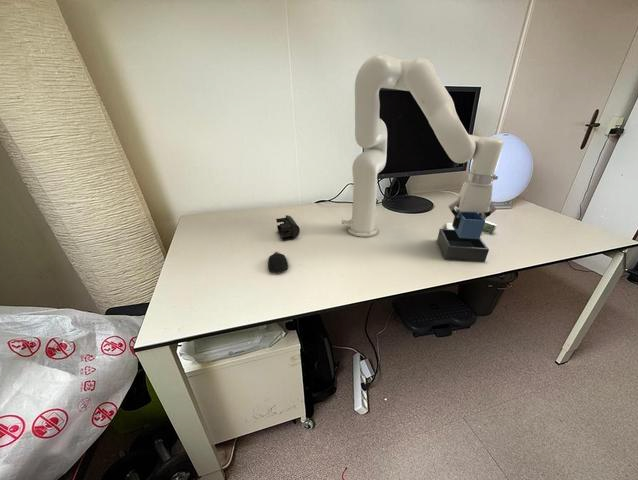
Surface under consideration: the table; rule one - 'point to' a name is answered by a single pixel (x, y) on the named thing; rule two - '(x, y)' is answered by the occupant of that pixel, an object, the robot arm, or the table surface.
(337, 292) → the table surface
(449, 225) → the hard drive
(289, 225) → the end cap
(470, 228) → the blue bin
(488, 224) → the medication box
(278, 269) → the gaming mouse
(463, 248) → the box
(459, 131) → the robot arm
